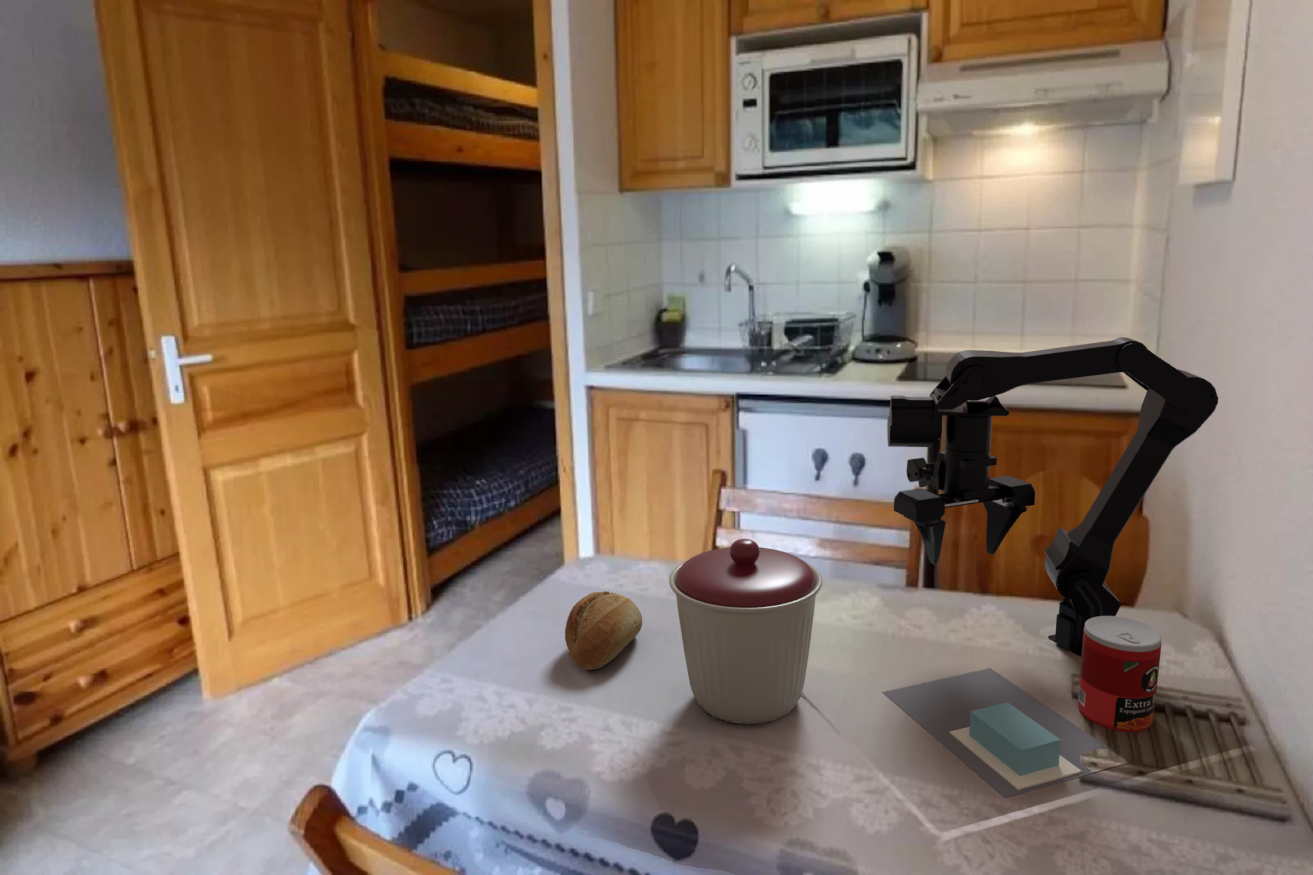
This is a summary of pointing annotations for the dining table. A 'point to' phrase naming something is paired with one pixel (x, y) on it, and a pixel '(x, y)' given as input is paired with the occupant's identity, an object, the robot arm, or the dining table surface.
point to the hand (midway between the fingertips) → (962, 558)
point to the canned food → (1119, 673)
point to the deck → (1014, 738)
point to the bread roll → (601, 628)
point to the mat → (948, 721)
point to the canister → (746, 629)
